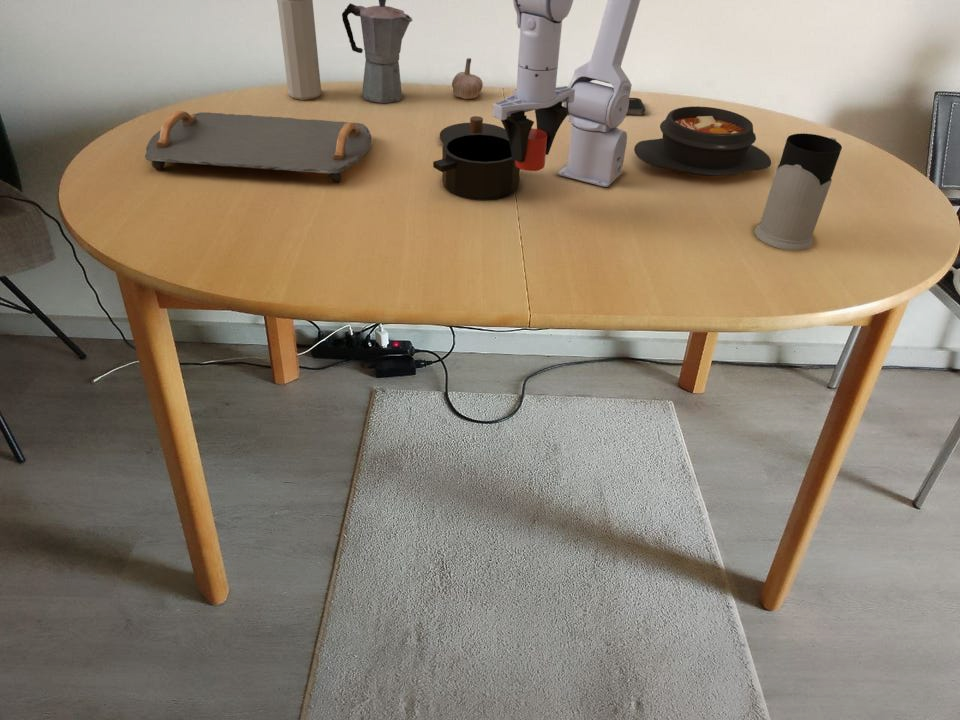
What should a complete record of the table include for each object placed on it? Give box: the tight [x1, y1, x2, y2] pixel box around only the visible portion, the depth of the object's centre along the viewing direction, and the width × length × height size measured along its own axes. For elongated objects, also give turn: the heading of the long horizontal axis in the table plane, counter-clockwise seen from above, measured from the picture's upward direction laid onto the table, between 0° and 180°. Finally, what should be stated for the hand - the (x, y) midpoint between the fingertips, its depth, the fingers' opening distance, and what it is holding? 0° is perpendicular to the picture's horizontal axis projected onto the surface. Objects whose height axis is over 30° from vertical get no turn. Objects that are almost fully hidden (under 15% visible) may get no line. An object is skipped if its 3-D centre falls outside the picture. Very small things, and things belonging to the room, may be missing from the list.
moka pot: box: [341, 0, 413, 104], centre depth 152 cm, size 10×15×20 cm, turn 78°
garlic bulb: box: [451, 57, 484, 100], centre depth 158 cm, size 8×7×8 cm
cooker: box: [432, 133, 521, 201], centre depth 123 cm, size 13×18×6 cm
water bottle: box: [276, 0, 322, 101], centre depth 150 cm, size 9×8×25 cm
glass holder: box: [754, 132, 843, 251], centre depth 110 cm, size 9×14×15 cm, turn 137°
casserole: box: [633, 106, 772, 177], centre depth 132 cm, size 25×19×8 cm
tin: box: [515, 127, 547, 172], centre depth 111 cm, size 5×5×5 cm
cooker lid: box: [439, 115, 508, 144], centre depth 139 cm, size 14×14×4 cm
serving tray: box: [144, 110, 373, 184], centre depth 129 cm, size 39×23×6 cm, turn 85°
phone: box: [626, 97, 646, 116], centre depth 157 cm, size 8×1×15 cm
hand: (530, 156), depth 112 cm, fingers closed on tin, 4 cm apart
